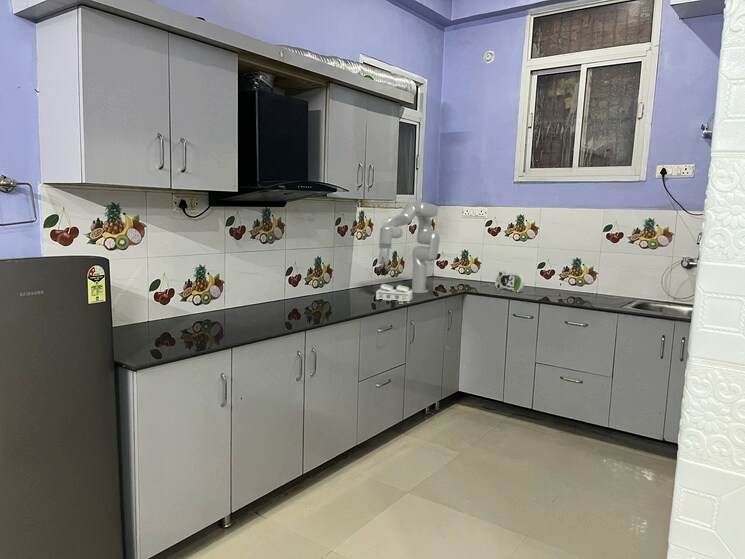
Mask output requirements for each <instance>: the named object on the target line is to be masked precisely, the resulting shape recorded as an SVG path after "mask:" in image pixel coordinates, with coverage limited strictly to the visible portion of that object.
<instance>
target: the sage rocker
mask: <svg viewBox="0 0 745 559" xmlns="http://www.w3.org/2000/svg"><path fill="white" fill-rule="evenodd" d="M395 288H396V289H395V290H402V291H406V292H407V291H409V290H410V287H409V286H406V285H405V286H404V285H401V284H398V285H397V286H396V287H395Z"/></svg>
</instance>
